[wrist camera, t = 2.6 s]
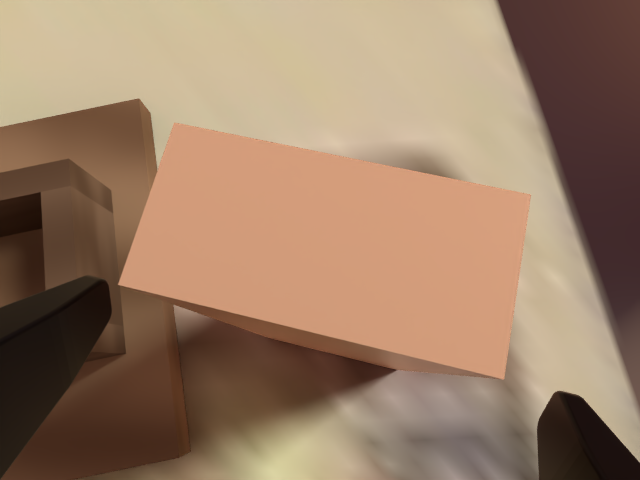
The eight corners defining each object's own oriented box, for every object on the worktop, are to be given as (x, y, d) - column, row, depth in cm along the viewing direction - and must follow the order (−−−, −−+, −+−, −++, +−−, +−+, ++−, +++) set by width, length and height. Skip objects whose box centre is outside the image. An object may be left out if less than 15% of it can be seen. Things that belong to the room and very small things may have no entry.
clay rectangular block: (397, 369, 18) (503, 378, 6) (268, 337, 18) (118, 285, 6) (409, 306, 18) (531, 195, 6) (283, 277, 19) (174, 122, 7)
